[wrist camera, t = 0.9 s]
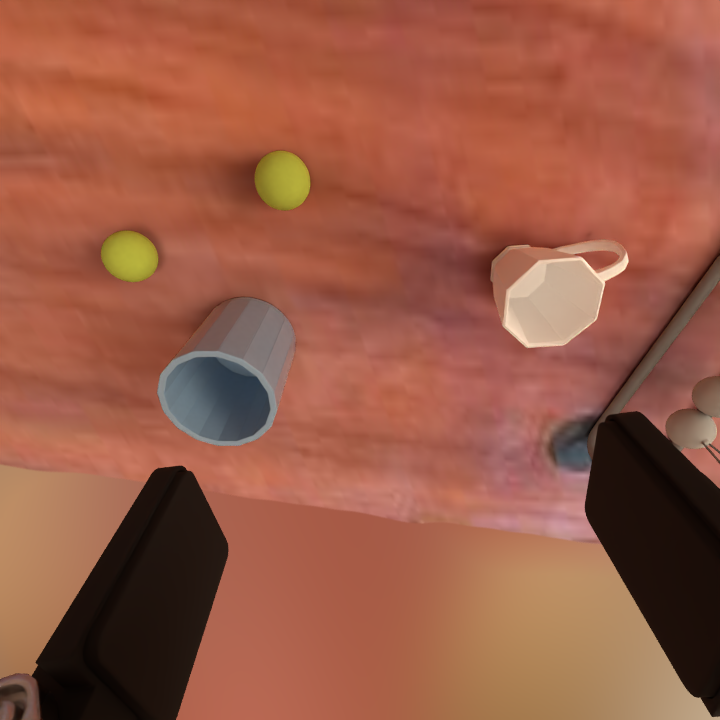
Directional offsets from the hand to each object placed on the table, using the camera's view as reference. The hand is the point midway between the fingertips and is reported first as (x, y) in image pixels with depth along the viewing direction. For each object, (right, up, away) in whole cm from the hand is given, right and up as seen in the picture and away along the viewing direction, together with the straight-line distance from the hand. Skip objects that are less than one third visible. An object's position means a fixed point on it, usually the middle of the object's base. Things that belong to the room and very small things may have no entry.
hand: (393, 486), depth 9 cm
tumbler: (-11, +5, +29) cm, 31 cm away
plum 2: (-6, +17, +22) cm, 28 cm away
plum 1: (-19, +12, +25) cm, 34 cm away
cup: (+14, +11, +25) cm, 31 cm away
